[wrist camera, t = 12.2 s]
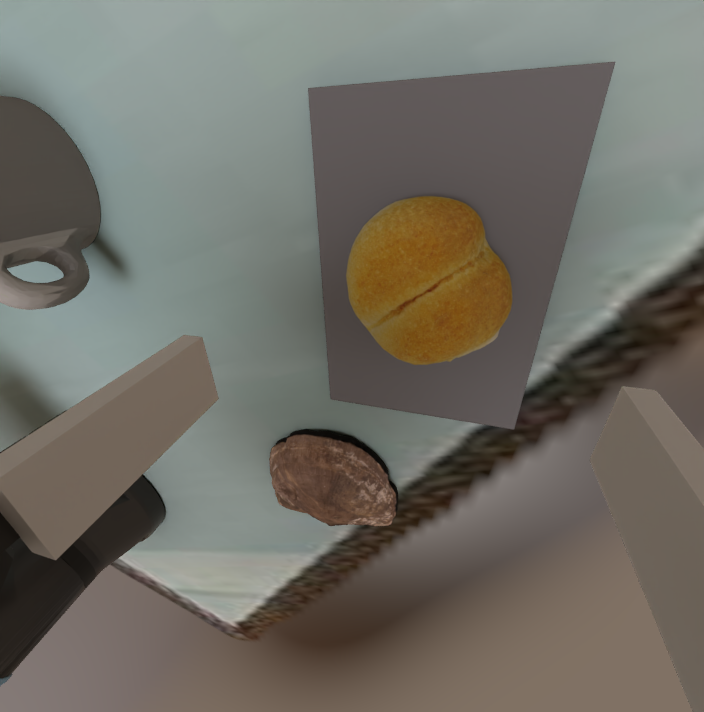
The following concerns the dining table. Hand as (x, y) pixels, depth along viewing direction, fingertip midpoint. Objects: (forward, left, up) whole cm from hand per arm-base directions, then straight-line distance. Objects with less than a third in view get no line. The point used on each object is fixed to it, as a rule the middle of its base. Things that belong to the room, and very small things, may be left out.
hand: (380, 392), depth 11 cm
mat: (0, 0, -12) cm, 12 cm away
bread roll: (0, 0, -11) cm, 11 cm away
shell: (-19, +7, -12) cm, 24 cm away
